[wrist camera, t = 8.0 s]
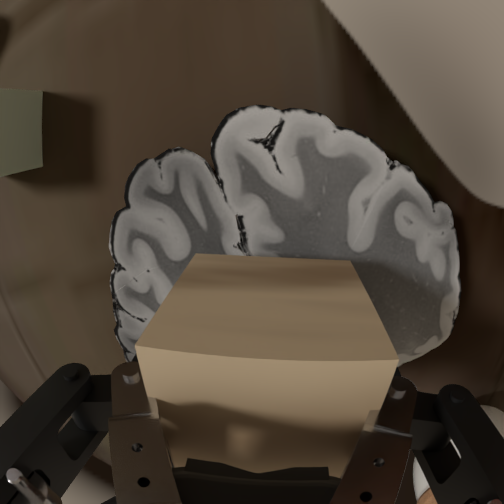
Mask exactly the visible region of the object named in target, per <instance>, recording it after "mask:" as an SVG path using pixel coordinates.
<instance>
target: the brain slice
mask: <svg viewBox="0 0 504 504" xmlns="http://www.w3.org/2000/svg"><path fill="white" fill-rule="evenodd" d="M211 156H212V160H213V163H214V167H215V170H216V174H217V175H216V174H215V173H214V172H213V170H212V168H211V167H210V165H209V164H208V163H207V162H206V160H205V159H204V158H202V157H200V156H199V155H197V154H195V153H194V152H192V151H189V150H187V149H184V148H181V147H176V148H173V149H168V150H166V151H165V152H163V153H162V154H160V155H159V156H157V157H156V158H154V159H145V160H143V161H142V162H140V163H138V164H137V165H136V167H135V168H134V169H133V171H132V172H131V174H130V175H129V177H128V180H127V182H126V185H125V195H124V199H125V203H126V207H124V208H123V209H121V210H119V211H117V212H116V214H115V216H114V218H113V220H112V223H111V230H110V239H109V248H110V252H111V255H112V258H113V260H114V262H115V267H114V269H113V271H112V272H111V278H110V287H111V293H112V298H113V312H114V316H115V319H116V323H117V325H116V327H115V329H114V332H115V335H116V338H117V340H118V342H119V344H120V345H121V347H122V348H123V351H124V355H125V359H126V361H127V362H131V361H132V359H133V358H134V356H135V354H136V349H135V344H136V342H137V341H138V339H139V338H140V336H141V335H142V333H143V331H144V330H145V328H146V327H147V325H148V324H149V322H150V321H151V319H152V318H153V316H154V315H155V313H156V312H157V310H158V308H159V307H160V305H161V304H162V302H163V301H164V299H165V298H166V296H167V295H168V293H169V292H170V290H171V289H172V287H173V286H174V285H175V283H176V282H177V280H178V279H179V277H180V276H181V274H182V273H183V271H184V270H185V268H186V267H187V265H188V264H189V262H190V261H191V260H192V258H193V257H194V255H195V254H196V253H198V254H219V255H239V256H260V257H281V258H303V259H325V260H347V261H351V263H352V265H353V267H354V269H355V271H356V272H357V274H358V276H359V278H360V280H361V282H362V284H363V286H364V288H365V290H366V292H367V293H368V295H369V297H370V299H371V301H372V303H373V305H374V307H375V309H376V311H377V313H378V315H379V317H380V319H381V321H382V324H383V326H384V328H385V330H386V332H387V334H388V336H389V338H390V340H391V342H392V345H393V347H394V349H395V351H396V353H397V355H398V358H399V362H398V365H397V367H399V366H400V365H402V364H403V363H406V362H409V361H412V360H414V359H416V358H418V357H421V356H423V355H424V354H426V353H427V352H429V351H430V350H432V349H434V348H436V347H438V346H440V345H441V344H442V343H443V342H444V341H445V340H446V339H447V338H448V337H449V335H450V334H451V332H452V330H453V327H454V323H455V319H456V317H457V314H458V309H459V303H460V296H461V280H460V276H459V267H460V263H459V248H458V240H457V233H456V229H455V228H454V227H453V225H454V223H453V214H452V211H451V210H450V208H449V207H448V205H447V203H444V202H441V201H437V202H434V201H433V199H432V197H431V195H430V193H429V191H428V190H427V189H426V187H425V186H424V185H423V184H422V183H421V182H420V180H419V179H418V178H417V176H416V175H415V174H414V172H413V171H412V170H411V169H410V168H409V167H408V166H406V165H402V164H401V163H399V162H398V161H396V160H395V161H393V162H392V161H391V160H390V159H389V158H388V157H387V156H386V154H385V153H384V151H383V149H382V148H381V147H380V146H379V145H377V144H376V143H375V142H374V141H373V140H372V139H370V138H368V137H366V136H364V135H362V134H360V133H358V132H356V131H354V130H352V129H348V128H344V127H340V126H336V125H335V124H334V123H333V122H332V121H331V120H330V119H329V118H328V117H327V116H325V115H323V114H321V113H318V112H314V111H310V110H306V109H297V108H289V109H285V110H279V109H276V108H274V107H271V106H264V105H253V106H247V107H241V108H238V109H236V110H234V111H233V112H231V113H229V114H227V115H226V116H225V117H224V119H223V120H222V121H221V123H220V124H219V126H218V128H217V130H216V132H215V134H214V135H213V137H212V141H211Z"/></svg>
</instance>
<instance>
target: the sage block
mask: <svg viewBox="0 0 504 504" xmlns="http://www.w3.org/2000/svg"><path fill="white" fill-rule="evenodd" d="M42 97H43V91H35V90H20V89H0V177H3V176H6V175H10V174H14V173H18V172H22V171H26V170H31V169H35V168H39V167H43V158H42Z"/></svg>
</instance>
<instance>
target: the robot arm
mask: <svg viewBox="0 0 504 504" xmlns="http://www.w3.org/2000/svg"><path fill="white" fill-rule="evenodd" d="M70 416H72V418H71V419H70V421H69V422H68V423H67V424H66V425H65V427H64V428H63V429H62V430H61V431H60V432H59V434H58V431H59V429H60V427H61V426H62V425H63V424H64V423H65V422H66V420H67V419H68V418H69V417H70ZM108 431H109V443H110V454H111V464H112V473H113V481H114V488H115V495H116V496H114V497H113V498H111V499H109V500H107V501H105V502H103V503H101V504H395V501H396V498H397V495H398V491H399V488H400V485H401V482H402V478H403V475H404V471H405V468H406V464H407V460H408V456H409V451H410V449H412V451H413V453H414V455H415V457H416V459H417V461H418V463H419V465H420V467H421V469H422V472H423V474H424V476H425V478H426V480H427V482H428V484H429V487H430V489H431V491H432V493H433V495H434V497H435V500H436V502H437V504H504V438H503V437H502V435H501V434H500V432H499V431H498V429H497V428H496V427H495V425H494V424H493V422H492V421H491V420H490V418H489V417H488V415H487V414H486V413H485V411H484V410H483V409H482V407H481V406H480V404H479V403H478V402H477V400H476V399H475V398H474V396H473V395H472V394H471V393H470V391H469V390H467V389H466V388H465V387H463V386H460V385H456V384H450V385H446V386H444V387H443V388H442V389H441V390H440V392H439V394H438V395H437V394H430V393H423V392H419V391H417V388H416V386H415V385H414V383H413V382H412V381H410V380H409V379H407V378H405V377H402V376H401V374H400V372H399V369H398V367H396V370H395V373H394V376H393V378H392V381H391V384H390V386H389V389H388V391H387V394H386V396H385V399H384V401H383V404H382V406H381V409H380V410H370V411H369V413H368V416H367V418H366V421H365V423H364V426H363V428H362V431H361V433H360V436H359V438H358V441H357V443H356V445H355V447H354V450H353V451H352V453H351V455H350V457H349V459H348V461H347V463H346V466H345V468H344V470H343V472H342V474H341V476H340V478H338V477H334V476H329V468H328V467H292V468H287V469H281V470H276V471H270V472H263V473H254V472H250V471H247V470H243V469H240V468H237V467H233V466H230V465H227V464H224V463H220V462H212V461H205V460H198V459H192V458H187V461H186V465H185V467H175V464H174V461H173V457H172V454H171V450H170V446H169V443H168V440H166V437H165V433H164V430H163V426H162V422H161V418H160V413H159V409H158V405H157V401H156V398H152V397H147V393H146V390H145V386H144V382H143V378H142V374H141V370H140V366H139V362H138V358H137V353H136V354H135V356H134V358H133V359H132V361H131V362H125V363H122V364H120V365H118V366H117V367H116V368H115V369H114V370H113V371H112V373H111V374H110V375H90V372H89V370H88V368H87V367H86V366H85V365H83V364H79V363H70V364H67V365H64V366H62V367H60V368H59V369H58V370H57V371H56V372H55V373H54V374H53V375H52V376H51V377H50V378H49V379H48V380H47V381H46V382H45V383H44V384H42V385H41V386H40V387H39V388H38V389H37V390H36V391H35V392H34V393H33V394H32V395H31V396H30V397H29V398H28V399H27V400H26V401H25V402H24V403H23V405H21V407H19V408H18V409H17V410H16V412H14V414H13V415H12V416H11V417H10V418H9V419H8V420H7V421H6V422H5V423H4V424H3V425H2V426H1V427H0V504H62V501H61V497H62V496H63V494H64V493H65V491H66V490H67V489H68V487H69V486H70V484H71V483H72V481H73V480H74V479H75V477H76V476H77V475H78V473H79V472H80V470H81V469H82V467H83V466H84V465H85V463H86V462H87V461H88V459H89V458H90V456H91V455H92V454H93V452H94V451H95V449H96V448H97V447H98V445H99V444H100V443H101V441H102V440H103V438H104V437H105V436H106V434H107V433H108ZM451 439H452V441H453V442H454V444H455V446H456V448H457V449H458V451H459V453H460V456H461V458H460V457H459V455H458V453H457V451H456V450H455V448H454V446H453V444H452V443H451V441H450V440H451Z"/></svg>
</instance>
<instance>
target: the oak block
mask: <svg viewBox="0 0 504 504" xmlns="http://www.w3.org/2000/svg"><path fill="white" fill-rule="evenodd" d="M135 349H136V353H137V358H138V362H139V366H140V370H141V374H142V378H143V382H144V386H145V390H146V393H147V397H152V398H156V401H157V405H158V409H159V413H160V418H161V422H162V426H163V430H164V433H165V437H166V440H168V443H169V446H170V450H171V454H172V457H173V461H174V464H175V467H185V465H186V461H187V458H192V459H198V460H205V461H212V462H220V463H224V464H227V465H230V466H233V467H237V468H240V469H243V470H247V471H250V472H254V473H263V472H270V471H276V470H281V469H287V468H292V467H328V468H329V476H334V477H338V478H340V476H341V474H342V472H343V470H344V468H345V466H346V463H347V461H348V459H349V457H350V455H351V453H352V451H353V450H354V447H355V445H356V443H357V441H358V438H359V436H360V433H361V431H362V428H363V426H364V423H365V421H366V418H367V416H368V413H369V411H370V410H380V409H381V406H382V404H383V401H384V399H385V396H386V394H387V391H388V389H389V386H390V384H391V381H392V378H393V376H394V373H395V370H396V367H397V365H398V362H399V358H398V355H397V353H396V351H395V349H394V347H393V345H392V342H391V340H390V338H389V336H388V334H387V332H386V330H385V328H384V326H383V324H382V321H381V319H380V317H379V315H378V313H377V311H376V309H375V307H374V305H373V303H372V301H371V299H370V297H369V295H368V293H367V292H366V290H365V288H364V286H363V284H362V282H361V280H360V278H359V276H358V274H357V272H356V271H355V269H354V267H353V265H352V263H351V261H347V260H325V259H303V258H281V257H260V256H239V255H219V254H198V253H196V254H195V255H194V257H193V258H192V260H191V261H190V262H189V264H188V265H187V267H186V268H185V270H184V271H183V273H182V274H181V276H180V277H179V279H178V280H177V282H176V283H175V285H174V286H173V287H172V289H171V290H170V292H169V293H168V295H167V296H166V298H165V299H164V301H163V302H162V304H161V305H160V307H159V308H158V310H157V312H156V313H155V315H154V316H153V318H152V319H151V321H150V322H149V324H148V325H147V327H146V328H145V330H144V331H143V333H142V335H141V336H140V338H139V339H138V341H137V342H136V344H135Z"/></svg>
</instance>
